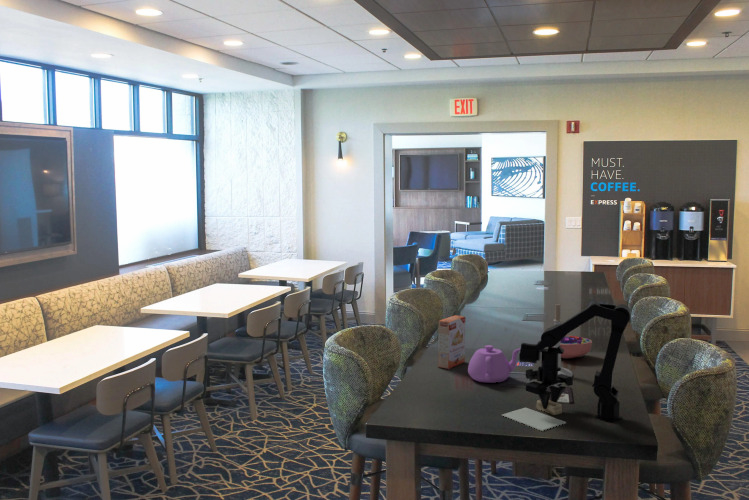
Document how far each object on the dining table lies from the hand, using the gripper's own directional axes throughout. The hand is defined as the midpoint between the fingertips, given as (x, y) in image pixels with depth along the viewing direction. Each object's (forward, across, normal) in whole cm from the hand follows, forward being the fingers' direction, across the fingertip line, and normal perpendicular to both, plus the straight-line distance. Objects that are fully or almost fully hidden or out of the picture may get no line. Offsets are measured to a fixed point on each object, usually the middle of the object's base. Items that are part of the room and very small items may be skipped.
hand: (549, 407), depth 243 cm
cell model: (+2, -60, -40) cm, 72 cm away
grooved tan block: (+1, 0, 0) cm, 1 cm away
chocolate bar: (+2, -17, -9) cm, 19 cm away
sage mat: (+1, +11, +2) cm, 11 cm away
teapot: (+2, -12, -38) cm, 40 cm away
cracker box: (+2, -12, -64) cm, 65 cm away
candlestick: (+2, -36, -27) cm, 45 cm away
